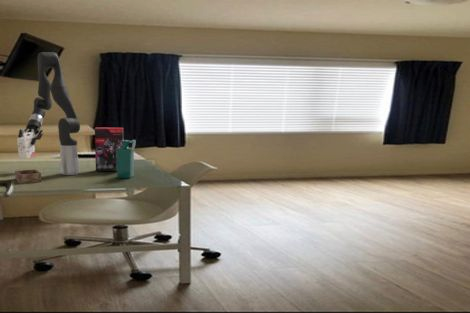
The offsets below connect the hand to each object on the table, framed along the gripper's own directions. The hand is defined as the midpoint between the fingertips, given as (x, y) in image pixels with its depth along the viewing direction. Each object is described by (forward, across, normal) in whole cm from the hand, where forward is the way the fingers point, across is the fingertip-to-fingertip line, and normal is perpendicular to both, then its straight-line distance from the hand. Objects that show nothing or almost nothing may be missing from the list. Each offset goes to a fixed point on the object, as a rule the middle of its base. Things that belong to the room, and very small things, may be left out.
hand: (26, 144), depth 244 cm
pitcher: (+16, +60, +9) cm, 63 cm away
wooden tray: (+28, +11, -4) cm, 30 cm away
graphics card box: (+3, +44, +22) cm, 50 cm away
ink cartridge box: (+6, 0, +6) cm, 8 cm away
